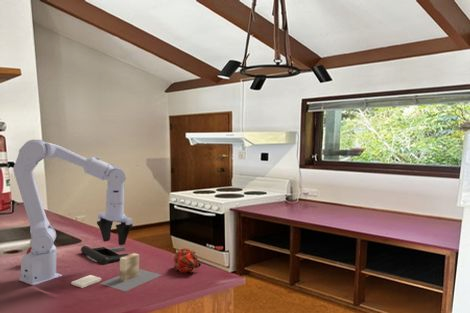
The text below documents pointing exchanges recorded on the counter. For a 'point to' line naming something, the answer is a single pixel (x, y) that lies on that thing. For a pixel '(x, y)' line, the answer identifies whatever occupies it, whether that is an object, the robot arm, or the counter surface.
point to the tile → (86, 281)
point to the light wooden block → (129, 267)
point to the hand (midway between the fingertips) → (114, 242)
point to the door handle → (99, 253)
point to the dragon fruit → (186, 261)
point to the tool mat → (131, 281)
